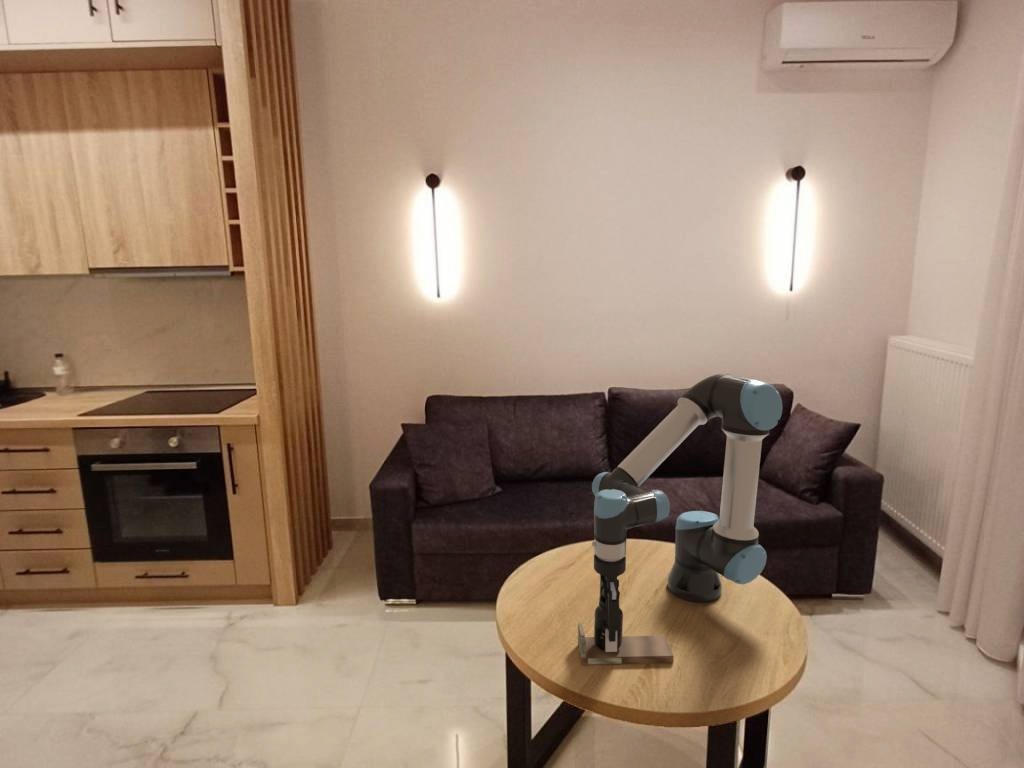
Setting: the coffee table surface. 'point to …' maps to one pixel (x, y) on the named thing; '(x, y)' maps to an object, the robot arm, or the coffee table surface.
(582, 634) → the rail flange
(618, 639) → the supplement bottle
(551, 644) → the coffee table surface
